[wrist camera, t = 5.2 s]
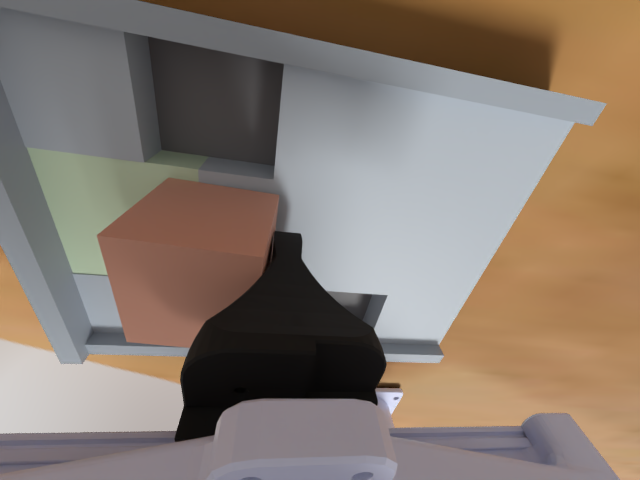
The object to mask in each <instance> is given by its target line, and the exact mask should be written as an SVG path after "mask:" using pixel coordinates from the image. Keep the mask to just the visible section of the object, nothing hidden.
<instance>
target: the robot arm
mask: <svg viewBox="0 0 640 480" xmlns="http://www.w3.org/2000/svg"><path fill="white" fill-rule="evenodd" d="M302 243H303V241H302V236H301V233H291V232H282V231H275V232H274V241H273V250H272V259H271V263H270V265H269V266H268V268H267V269H266V270H265V272H264V273H263V274H262V276H261V277H260V278H259V279H258V280H257V281H256V282H255V283H254V284H253V285H252V286H251V287H250V288H249V289H248V290H247V291H246V292H245V293H244V294H243V295H242V296H240V297H239V298H238V299H237V300H235V301H234V302H233V303H232V304H230V305H229V306H228V307H226V308H225V309H223V310H222V311H220V312H219V313H217V314H216V315H214V316H213V317H211V318H210V319H208V320H206V321H205V323H204V324H203V326H202V327H201V329H200V331H199V332H198V334H197V336H196V337H195V339H194V341H193V343H192V345H191V347H190V349H189V351H188V353H187V356H186V359H185V362H184V365H183V368H182V371H181V378H180V381H181V388H182V394H183V401H184V408H183V411H182V415H181V418H180V421H179V425H178V428H177V431H154V432H90V433H89V432H83V433H15V434H0V480H620V479H619V478H618V476H617V475H616V474H615V473H614V471H613V470H612V469H611V467H610V466H609V465H608V464H607V462H606V461H605V460H604V458H603V457H602V456H601V455H600V453H599V452H598V451H597V449H596V448H595V447H594V446H593V444H592V443H591V442H590V440H589V439H588V438H587V437H586V435H585V434H584V433H583V431H582V430H581V429H580V428H579V426H578V425H577V424H576V422H575V421H574V420H573V419H572V417H571V416H570V415H569V414H567V413H539V414H535V415H532V416H530V417H529V418H527V419H526V420H525V421H524V422H523V423H522V425H521V426H492V427H424V428H394V424H393V420H392V417H391V414H392V413H393V411H394V409H395V408H396V406H397V404H398V402H399V401H400V399H401V397H402V396H403V391H402V389H400V388H376V387H377V385H378V383H379V381H380V379H381V378H382V376H383V374H384V372H385V368H386V358H385V355H384V352H383V348H382V346H381V343H380V341H379V339H378V337H377V335H376V333H375V330H374V328H373V327H371V326H370V325H368V324H367V323H365V322H364V321H362V320H361V319H359V318H358V317H356V316H355V315H353V314H352V313H351V312H349V311H348V310H347V309H346V308H344V307H343V306H342V305H341V304H339V303H338V302H337V301H336V300H335V299H334V298H333V297H332V296H331V295H330V294H329V293H328V292H327V291H326V290H325V289H324V288H323V287H322V286H321V285H320V284H319V282H318V281H317V280H316V279H315V277H314V276H313V275H312V273H311V272H310V271H309V269H308V268H307V266H306V265H305V263H304V261H303V260H302Z"/></svg>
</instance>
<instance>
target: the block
mask: <svg viewBox="0 0 640 480" xmlns="http://www.w3.org/2000/svg"><path fill="white" fill-rule="evenodd" d="M278 203H279V195H277V194H271V193H264V192H258V191H252V190H245V189H239V188H233V187H226V186H220V185H213V184H207V183H201V182H194V181H188V180H182V179H175V178H167V179H166V180H165V181H163V182H162V183H161V184H160V185H158V186H157V187H156V188H155V189H153V190H152V191H151V192H150V193H148V194H147V195H146V196H145V197H144V198H142V199H141V200H140V201H139V202H137V203H136V204H135V205H134V206H132V207H131V208H130V209H129V210H127V211H126V212H125V213H124V214H122V215H121V216H120V217H119V218H117V219H116V220H115V221H114V222H112V223H111V224H110V225H109V226H108V227H106V228H105V229H104V230H103V231H101V232H100V233H99V234H98V235H97V239H98V242H99V246H100V250H101V253H102V257H103V260H104V264H105V267H106V271H107V274H108V278H109V281H110V285H111V288H112V292H113V295H114V299H115V302H116V306H117V310H118V313H119V317H120V320H121V324H122V327H123V331H124V334H125V338H126V341H127V342H132V343H142V344H153V345H164V346H175V347H185V348H190V347H191V345H192V343H193V341H194V339H195V337H196V336H197V334H198V332H199V331H200V329H201V327H202V326H203V324H204V323H205V321H206V320H208V319H210V318H211V317H213V316H214V315H216V314H217V313H219V312H220V311H222V310H223V309H225V308H226V307H228V306H229V305H230V304H232V303H233V302H234V301H235V300H237V299H238V298H239V297H240V296H242V295H243V294H244V293H245V292H246V291H247V290H248V289H249V288H250V287H251V286H252V285H253V284H254V283H255V282H256V281H257V280H258V279H259V278H260V277H261V276H262V274H263V273H264V272H265V270H266V269H267V268H268V266H269V265H270V263H271V259H272V250H273V241H274V232H275V229H276V220H277V212H278Z"/></svg>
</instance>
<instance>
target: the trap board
mask: <svg viewBox="0 0 640 480" xmlns="http://www.w3.org/2000/svg"><path fill="white" fill-rule="evenodd" d="M605 106H606V103H602V102H597V101H593V100H588V99H583V98H579V97H574V96H570V95H565V94H561V93H556V92H552V91H547V90H543V89H538V88H533V87H529V86H524V85H520V84H515V83H511V82H506V81H502V80H497V79H493V78H488V77H483V76H479V75H474V74H470V73H465V72H461V71H456V70H452V69H447V68H443V67H438V66H433V65H429V64H424V63H420V62H415V61H411V60H406V59H402V58H397V57H392V56H388V55H383V54H379V53H374V52H370V51H365V50H361V49H356V48H352V47H347V46H342V45H338V44H333V43H329V42H324V41H320V40H315V39H311V38H306V37H302V36H297V35H292V34H288V33H283V32H279V31H274V30H270V29H265V28H261V27H256V26H252V25H247V24H242V23H238V22H233V21H229V20H224V19H220V18H215V17H211V16H206V15H202V14H197V13H192V12H188V11H183V10H179V9H174V8H170V7H165V6H161V5H156V4H152V3H147V2H142V1H138V0H0V245H1V247H2V249H3V251H4V253H5V255H6V257H7V259H8V260H9V262H10V264H11V266H12V268H13V270H14V272H15V274H16V276H17V278H18V280H19V282H20V284H21V286H22V288H23V290H24V292H25V294H26V296H27V298H28V300H29V302H30V304H31V306H32V308H33V310H34V312H35V314H36V316H37V318H38V320H39V322H40V324H41V326H42V327H43V329H44V331H45V333H46V335H47V337H48V339H49V341H50V343H51V345H52V347H53V349H54V351H55V353H56V355H57V357H58V359H59V361H60V363H61V364H83V362H84V361H85V359H86V358H87V356H88V355H89V354H107V355H146V356H187V353H188V351H189V349H190V348H185V347H175V346H164V345H153V344H142V343H132V342H127V341H126V338H125V334H124V331H123V327H122V324H121V320H120V317H119V313H118V310H117V306H116V302H115V299H114V295H113V292H112V288H111V285H110V281H109V278H108V274H107V271H106V267H105V264H104V260H103V257H102V253H101V250H100V246H99V242H98V239H97V235H98V234H99V233H100V232H101V231H103V230H104V229H105V228H106V227H108V226H109V225H110V224H111V223H112V222H114V221H115V220H116V219H117V218H119V217H120V216H121V215H122V214H124V213H125V212H126V211H127V210H129V209H130V208H131V207H132V206H134V205H135V204H136V203H137V202H139V201H140V200H141V199H142V198H144V197H145V196H146V195H147V194H148V193H150V192H151V191H152V190H153V189H155V188H156V187H157V186H158V185H160V184H161V183H162V182H163V181H165V180H166V179H167V178H175V179H182V180H188V181H194V182H201V183H207V184H213V185H220V186H226V187H233V188H239V189H245V190H252V191H258V192H264V193H271V194H277V195H279V203H278V212H277V220H276V229H275V231H282V232H291V233H301V236H302V241H303V243H302V260H303V261H304V263H305V265H306V266H307V268H308V269H309V271H310V272H311V273H312V275H313V276H314V277H315V279H316V280H317V281H318V282H319V284H320V285H321V286H322V287H323V288H324V289H325V290H326V291H327V292H328V293H329V294H330V295H331V296H332V297H333V298H334V299H335V300H336V301H337V302H338V303H339V304H341V305H342V306H343V307H344V308H346V309H347V310H348V311H349V312H351V313H352V314H353V315H355V316H356V317H358V318H359V319H361V320H362V321H364V322H365V323H367V324H368V325H370V326H371V327H373V328H374V330H375V333H376V335H377V337H378V339H379V341H380V343H381V346H382V348H383V352H384V355H385V358H386V362H421V363H440V361H441V359H442V358H443V356H444V355H443V353H442V351H441V349H440V347H439V344H440V342H441V340H442V339H443V337H444V336H445V334H446V332H447V331H448V329H449V327H450V326H451V324H452V322H453V321H454V319H455V318H456V316H457V314H458V313H459V311H460V309H461V308H462V306H463V304H464V303H465V301H466V300H467V298H468V296H469V295H470V293H471V291H472V290H473V288H474V286H475V285H476V283H477V282H478V280H479V278H480V277H481V275H482V273H483V272H484V270H485V268H486V267H487V265H488V264H489V262H490V260H491V259H492V257H493V255H494V254H495V252H496V250H497V249H498V247H499V245H500V244H501V242H502V241H503V239H504V237H505V236H506V234H507V232H508V231H509V229H510V227H511V226H512V224H513V223H514V221H515V219H516V218H517V216H518V214H519V213H520V211H521V209H522V208H523V206H524V205H525V203H526V201H527V200H528V198H529V196H530V195H531V193H532V191H533V190H534V188H535V187H536V185H537V183H538V182H539V180H540V178H541V177H542V175H543V173H544V172H545V170H546V169H547V167H548V165H549V164H550V162H551V160H552V159H553V157H554V155H555V154H556V152H557V151H558V149H559V147H560V146H561V144H562V142H563V141H564V139H565V137H566V136H567V134H568V133H569V131H570V129H571V128H572V126H573V124H574V123H580V124H585V125H590V126H593V124H594V123H595V121H596V119H597V118H598V116H599V115H600V113H601V112H602V110H603V109H604V107H605Z"/></svg>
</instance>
